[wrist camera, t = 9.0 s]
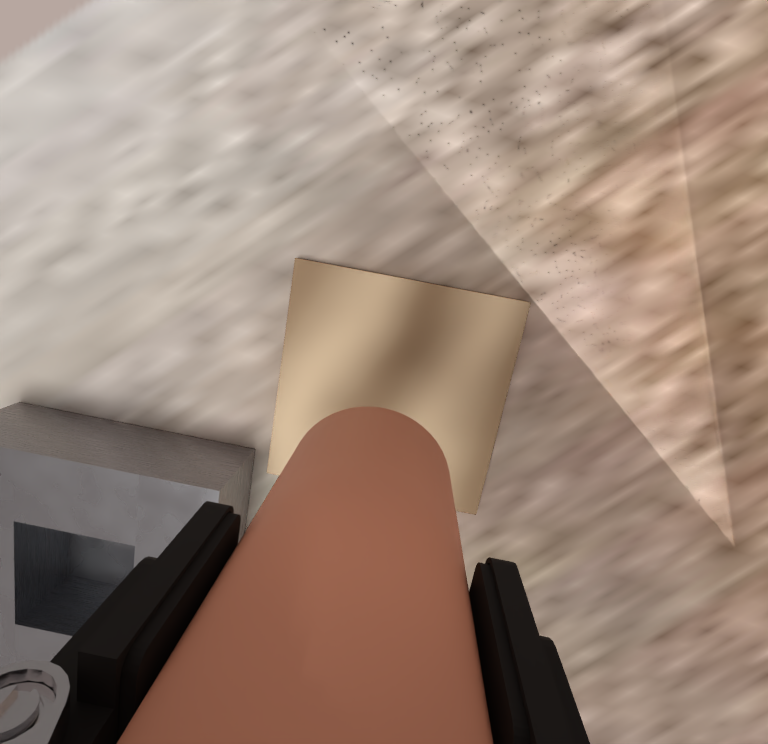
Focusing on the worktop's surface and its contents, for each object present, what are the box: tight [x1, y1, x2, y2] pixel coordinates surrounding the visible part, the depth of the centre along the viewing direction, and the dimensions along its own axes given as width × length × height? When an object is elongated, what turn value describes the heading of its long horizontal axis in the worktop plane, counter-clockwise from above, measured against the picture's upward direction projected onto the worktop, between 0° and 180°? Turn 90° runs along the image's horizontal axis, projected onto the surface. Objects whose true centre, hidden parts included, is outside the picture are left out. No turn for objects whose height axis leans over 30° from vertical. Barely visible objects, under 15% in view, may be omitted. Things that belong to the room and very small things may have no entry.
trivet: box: [267, 258, 531, 515], centre depth 25 cm, size 12×12×1 cm
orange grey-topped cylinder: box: [117, 406, 493, 744], centre depth 10 cm, size 5×5×11 cm
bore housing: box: [0, 402, 255, 667], centre depth 26 cm, size 14×14×5 cm
